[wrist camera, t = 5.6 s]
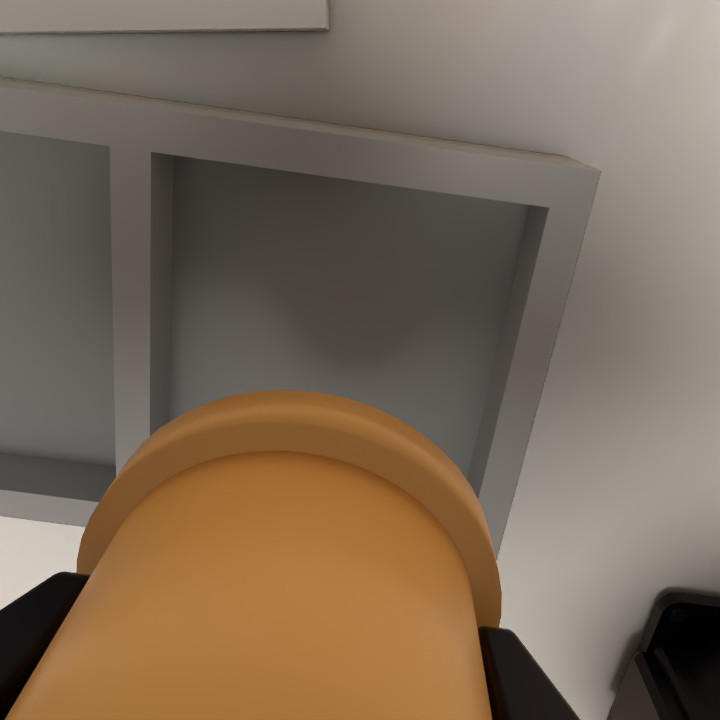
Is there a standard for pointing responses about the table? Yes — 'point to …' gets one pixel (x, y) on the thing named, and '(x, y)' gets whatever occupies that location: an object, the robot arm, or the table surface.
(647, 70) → the table surface
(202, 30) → the lid
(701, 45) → the table surface
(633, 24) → the table surface
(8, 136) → the housing
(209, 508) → the orange drawer knob
